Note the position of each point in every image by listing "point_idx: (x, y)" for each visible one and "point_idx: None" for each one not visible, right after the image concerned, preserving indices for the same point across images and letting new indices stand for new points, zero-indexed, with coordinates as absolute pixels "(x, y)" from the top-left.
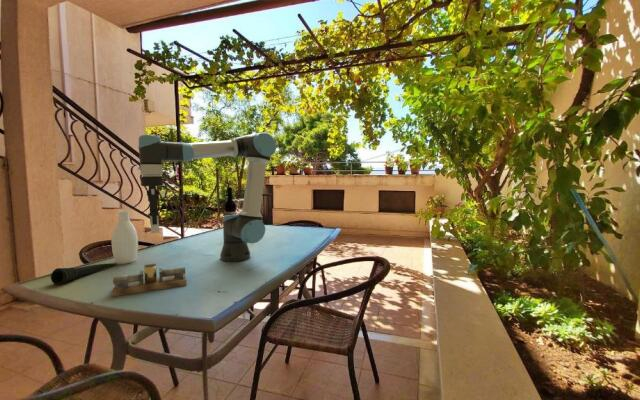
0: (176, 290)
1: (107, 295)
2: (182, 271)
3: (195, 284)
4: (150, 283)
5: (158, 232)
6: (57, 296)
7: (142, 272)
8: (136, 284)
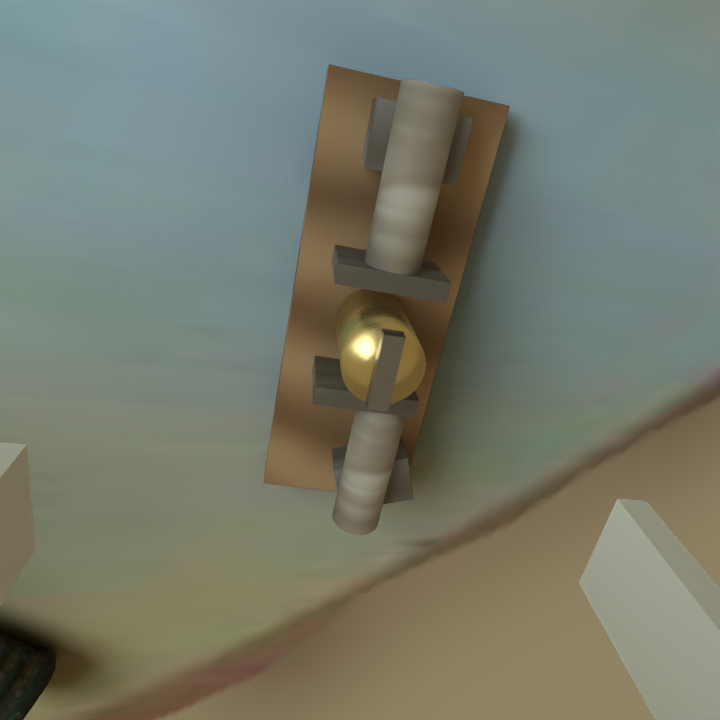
0: (545, 194)
1: None
2: (458, 118)
3: (527, 40)
4: None
5: (645, 513)
6: (239, 644)
7: None
8: None
